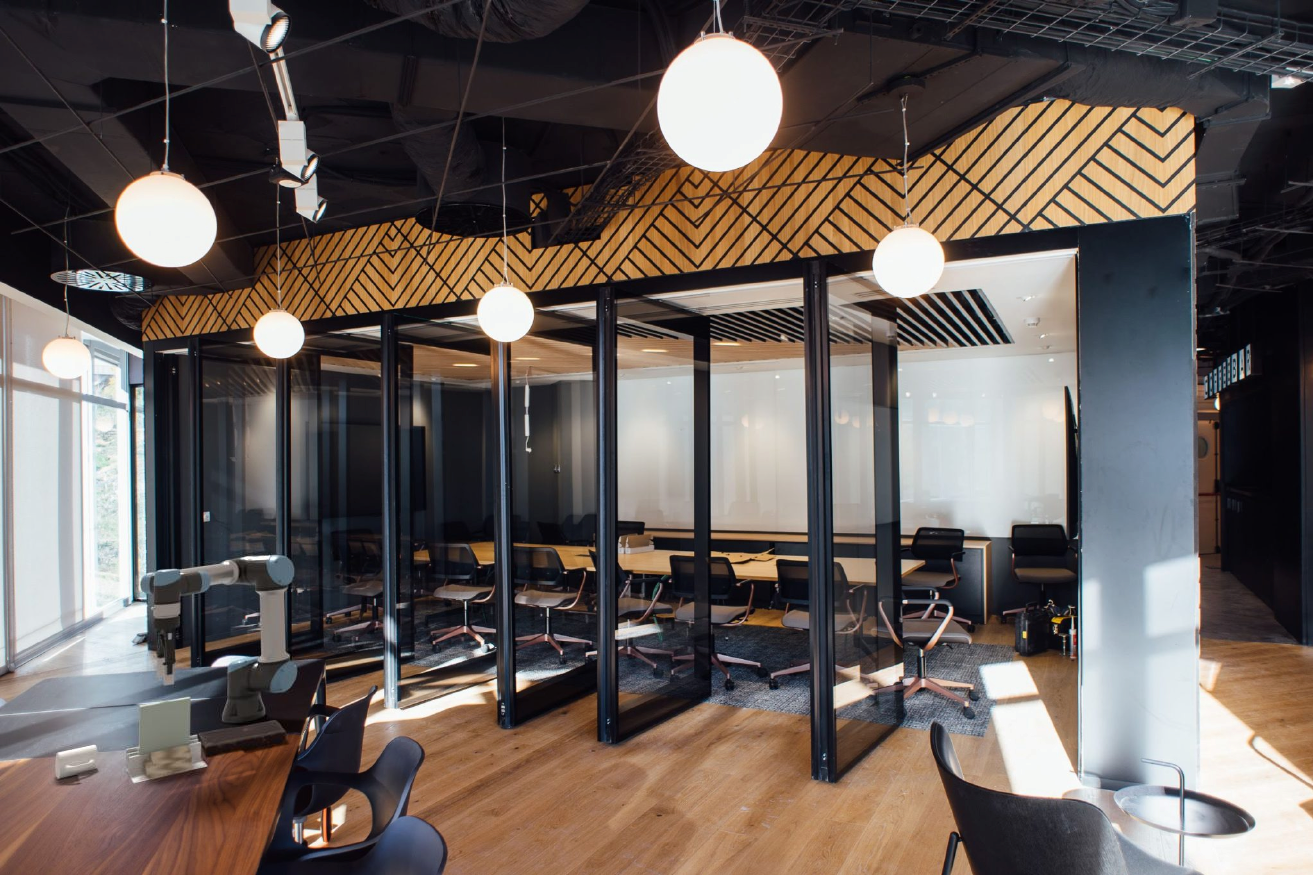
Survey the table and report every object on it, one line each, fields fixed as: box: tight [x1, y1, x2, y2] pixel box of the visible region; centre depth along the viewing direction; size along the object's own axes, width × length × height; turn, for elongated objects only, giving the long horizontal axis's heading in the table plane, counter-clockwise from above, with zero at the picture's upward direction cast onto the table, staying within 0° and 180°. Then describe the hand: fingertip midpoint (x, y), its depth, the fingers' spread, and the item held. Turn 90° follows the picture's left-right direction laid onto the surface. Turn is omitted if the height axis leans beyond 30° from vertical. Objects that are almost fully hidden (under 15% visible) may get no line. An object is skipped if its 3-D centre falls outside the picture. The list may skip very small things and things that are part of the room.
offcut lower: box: [145, 756, 192, 777], centre depth 244 cm, size 12×5×3 cm, turn 131°
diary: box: [198, 719, 287, 757], centre depth 270 cm, size 19×25×5 cm
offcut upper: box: [151, 745, 190, 766], centre depth 244 cm, size 10×5×3 cm, turn 131°
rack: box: [125, 734, 208, 784], centre depth 246 cm, size 20×18×7 cm
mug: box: [54, 744, 99, 780], centre depth 244 cm, size 12×10×8 cm
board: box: [138, 696, 191, 755], centre depth 250 cm, size 14×2×20 cm, turn 131°
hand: (165, 681), depth 251 cm, fingers open, 13 cm apart
